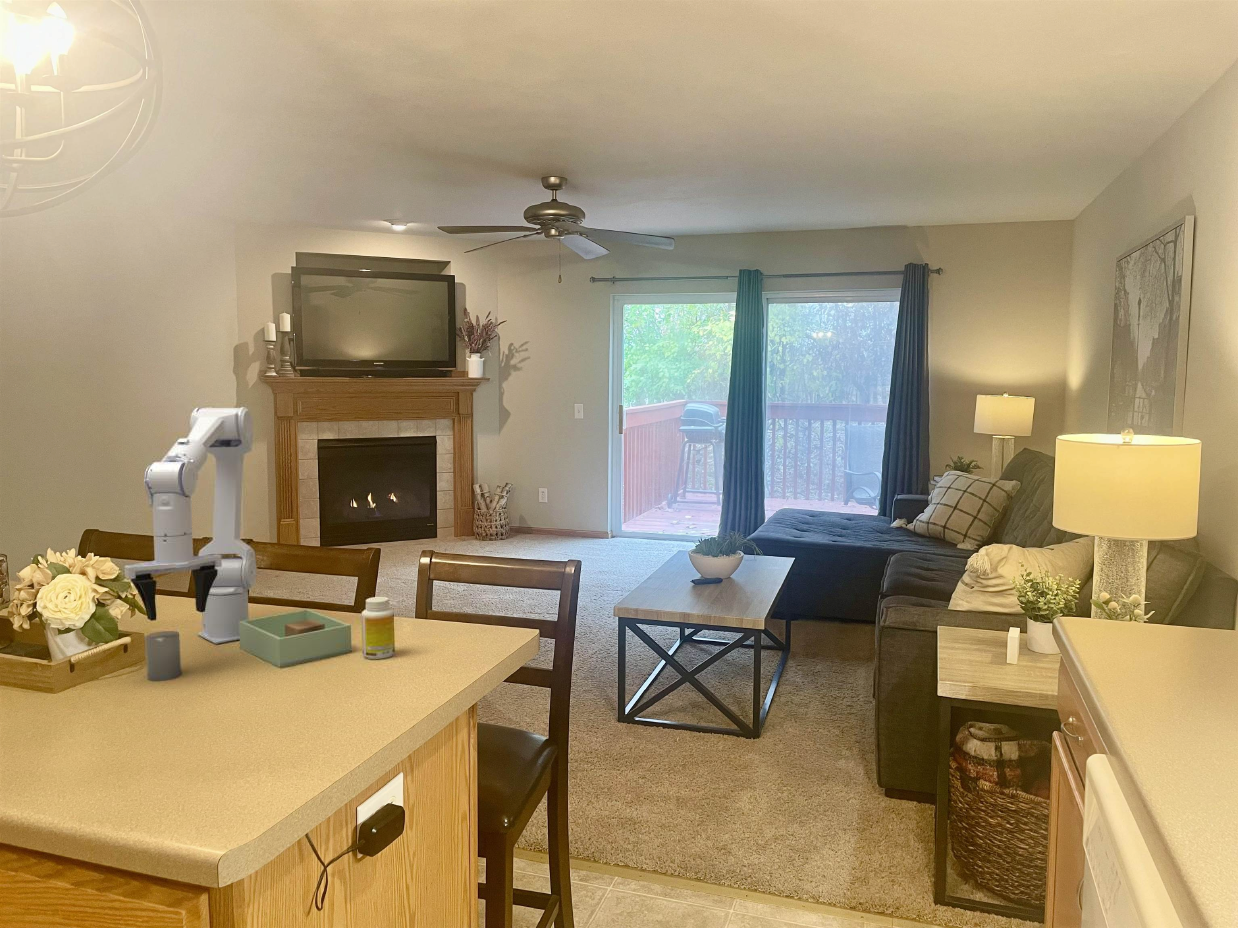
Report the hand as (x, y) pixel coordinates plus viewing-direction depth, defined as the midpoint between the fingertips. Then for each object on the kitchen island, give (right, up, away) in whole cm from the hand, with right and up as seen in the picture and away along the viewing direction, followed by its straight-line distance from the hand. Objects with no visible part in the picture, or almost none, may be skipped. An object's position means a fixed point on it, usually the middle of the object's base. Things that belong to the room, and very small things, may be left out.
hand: (176, 615), depth 148 cm
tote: (+14, -9, +14) cm, 22 cm away
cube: (+17, -8, +11) cm, 22 cm away
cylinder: (-2, -10, 0) cm, 10 cm away
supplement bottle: (+31, -9, +11) cm, 34 cm away
